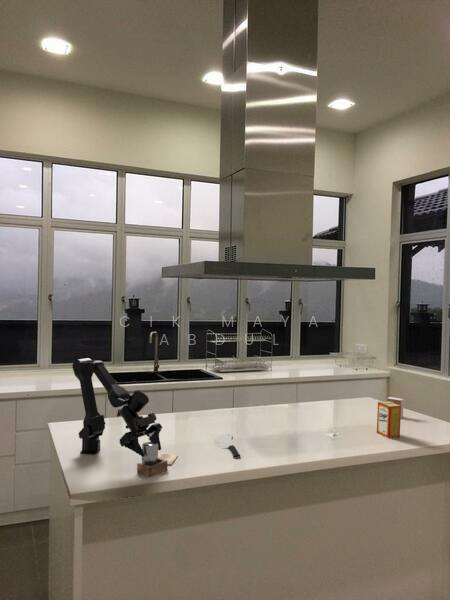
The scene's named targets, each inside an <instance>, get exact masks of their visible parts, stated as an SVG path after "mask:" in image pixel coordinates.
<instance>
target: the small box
mask: <svg viewBox="0 0 450 600" xmlns="http://www.w3.org/2000/svg"><path fill="white" fill-rule="evenodd" d="M387 401H389V402H393V403H395V404H397V405H400V406H401V419H402V418H403V417H404V405H405V403H404V401H405V400H404V398H399V397H393V396H389V397H387V399H386V402H387Z"/></svg>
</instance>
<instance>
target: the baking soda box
mask: <svg viewBox="0 0 450 600" xmlns="http://www.w3.org/2000/svg"><path fill="white" fill-rule="evenodd" d="M376 418H377V419H376V433H377V434H379V435H381V436H383V437H385V436H386V437H385V438H387V437H388V438H387V439H391V438H390V437H400V438H401V420H402V418H401V406H400V405H397V404H395V403H393V402H389V401H387V400H386V401H377V417H376Z"/></svg>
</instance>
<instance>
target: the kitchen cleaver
mask: <svg viewBox="0 0 450 600" xmlns="http://www.w3.org/2000/svg"><path fill="white" fill-rule="evenodd" d="M214 437H215V439H216V441H217V443H218V445H219V447H220V449H227V450H229V451H230V453H231V454H232V458H233V459H240V458H241V454H240V453H239V451H238V450H237V447H236V446H235V445H234V443H233V441H232V440H233V439H232V437H233V434H232V433H226V434H225V433H224V434H217V435H214Z"/></svg>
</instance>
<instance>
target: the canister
mask: <svg viewBox="0 0 450 600" xmlns="http://www.w3.org/2000/svg"><path fill="white" fill-rule="evenodd" d="M141 448H142V450H143V452H144V454H145V456H144V457H142V456H141V463H142V464H145V465H148V466H152V465H155V464H157V463H158V453H159V450H158V443H155V442H151V441H147V442H144V443H142V445H141Z"/></svg>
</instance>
